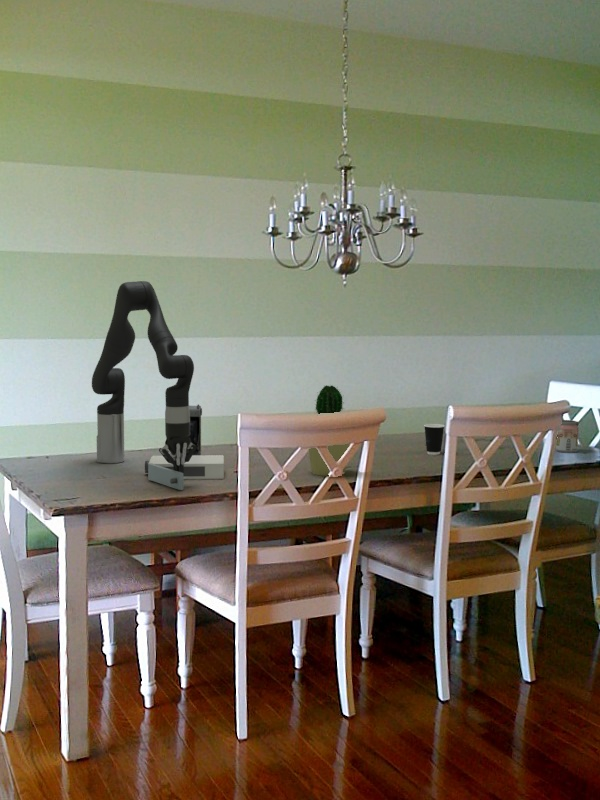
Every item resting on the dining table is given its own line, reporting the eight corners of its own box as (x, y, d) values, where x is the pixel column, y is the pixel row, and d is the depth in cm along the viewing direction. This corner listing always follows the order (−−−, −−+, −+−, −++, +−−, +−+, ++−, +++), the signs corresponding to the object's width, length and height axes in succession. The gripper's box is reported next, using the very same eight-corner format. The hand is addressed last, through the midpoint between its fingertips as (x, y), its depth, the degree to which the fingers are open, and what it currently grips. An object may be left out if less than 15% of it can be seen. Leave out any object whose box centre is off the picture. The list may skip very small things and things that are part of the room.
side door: (142, 479, 275) (142, 464, 275) (151, 478, 277) (151, 462, 277) (175, 490, 259) (175, 474, 258) (185, 489, 261) (185, 472, 260)
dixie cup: (419, 453, 332) (419, 425, 331) (431, 451, 338) (432, 423, 336) (435, 456, 326) (436, 427, 325) (448, 453, 332) (449, 425, 331)
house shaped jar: (554, 448, 346) (555, 419, 345) (576, 449, 344) (577, 419, 343) (556, 452, 337) (557, 421, 336) (578, 453, 335) (580, 422, 334)
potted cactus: (306, 477, 284) (306, 385, 281) (304, 468, 299) (305, 381, 296) (353, 477, 284) (354, 385, 281) (349, 468, 299) (350, 382, 296)
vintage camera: (170, 465, 304) (171, 409, 302) (175, 456, 320) (175, 403, 317) (198, 466, 305) (199, 410, 302) (201, 457, 320) (202, 404, 317)
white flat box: (143, 479, 277) (143, 464, 277) (147, 470, 293) (147, 455, 293) (223, 478, 279) (223, 463, 279) (223, 469, 295) (223, 455, 295)
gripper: (165, 424, 257) (167, 481, 259) (202, 419, 266) (203, 475, 268) (152, 421, 263) (153, 477, 265) (188, 417, 272) (189, 472, 274)
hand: (178, 476), depth 267 cm, fingers closed
